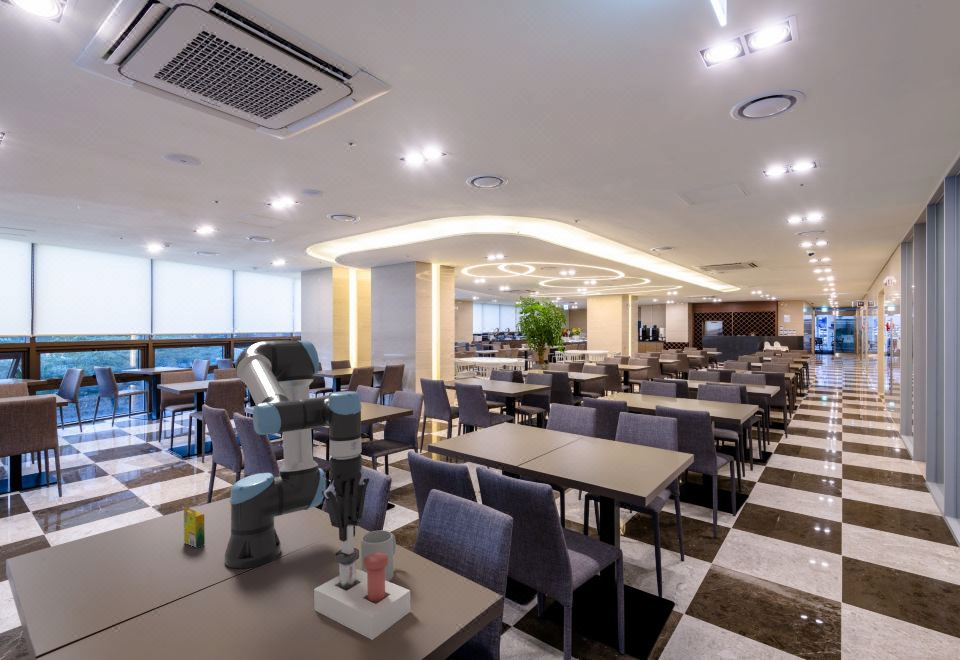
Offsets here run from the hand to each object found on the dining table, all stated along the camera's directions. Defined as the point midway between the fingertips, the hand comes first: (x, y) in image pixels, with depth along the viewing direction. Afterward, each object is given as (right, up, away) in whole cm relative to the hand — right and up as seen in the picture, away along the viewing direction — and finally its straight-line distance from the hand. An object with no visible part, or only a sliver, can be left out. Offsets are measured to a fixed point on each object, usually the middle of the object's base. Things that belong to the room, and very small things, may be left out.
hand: (347, 552), depth 112 cm
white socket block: (+4, -13, -3) cm, 14 cm away
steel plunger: (0, -10, 0) cm, 10 cm away
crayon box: (-59, -14, +34) cm, 70 cm away
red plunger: (+8, -8, -6) cm, 13 cm away
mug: (+5, -13, +14) cm, 20 cm away
